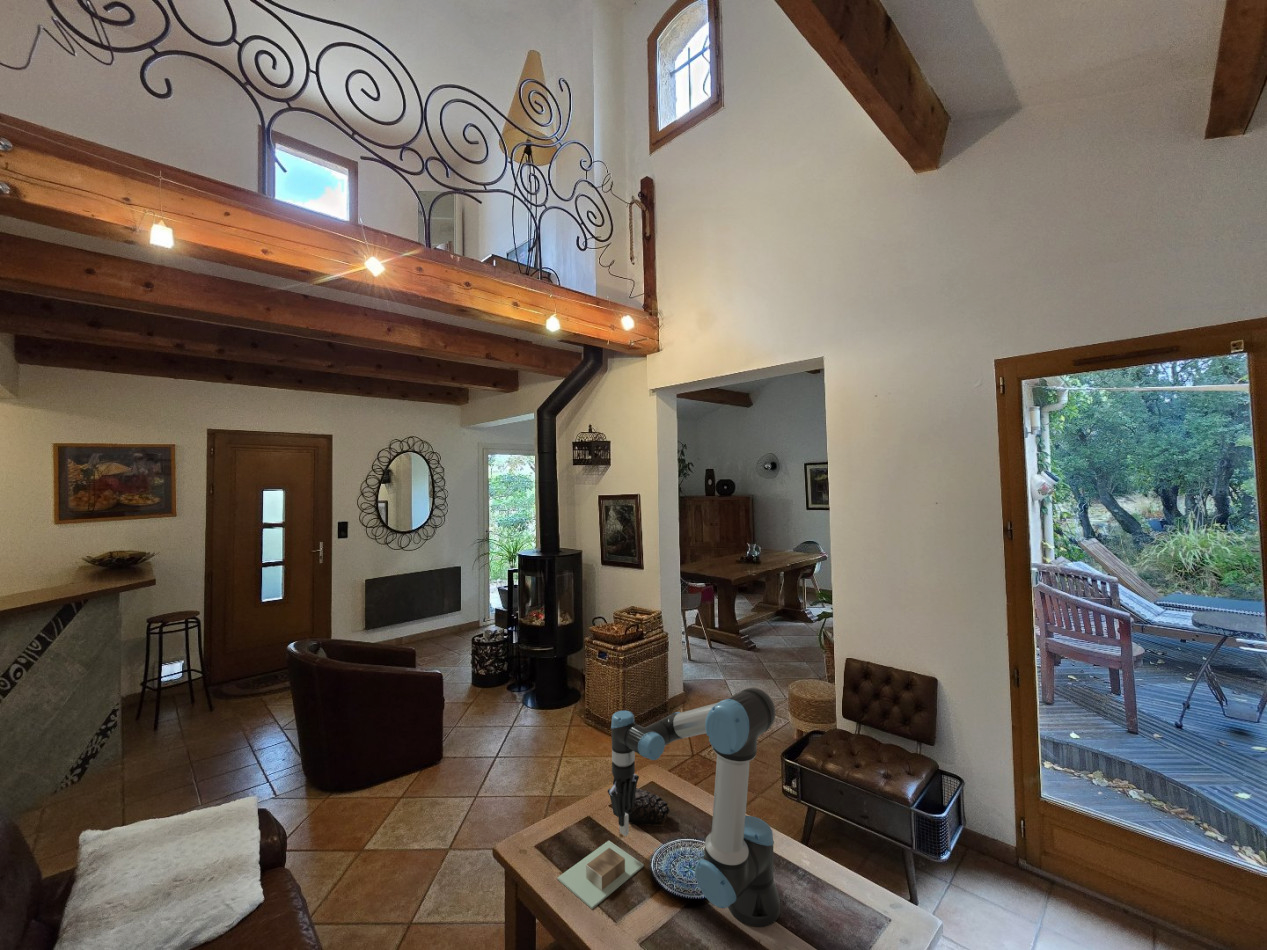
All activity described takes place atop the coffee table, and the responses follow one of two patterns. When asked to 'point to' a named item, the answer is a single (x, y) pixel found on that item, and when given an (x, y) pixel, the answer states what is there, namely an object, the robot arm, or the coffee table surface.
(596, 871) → the beige rectangular block
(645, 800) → the pine cone
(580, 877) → the mat
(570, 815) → the coffee table surface
